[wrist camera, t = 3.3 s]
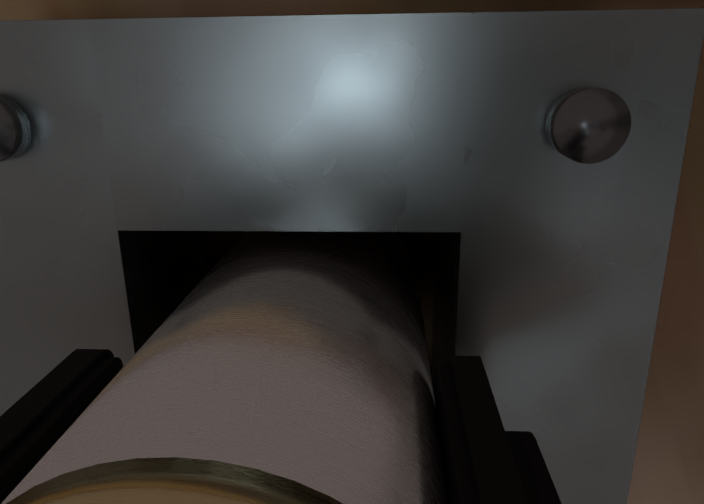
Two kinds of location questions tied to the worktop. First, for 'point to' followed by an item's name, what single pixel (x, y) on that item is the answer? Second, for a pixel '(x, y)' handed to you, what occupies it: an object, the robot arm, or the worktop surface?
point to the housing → (362, 187)
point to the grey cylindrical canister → (267, 389)
